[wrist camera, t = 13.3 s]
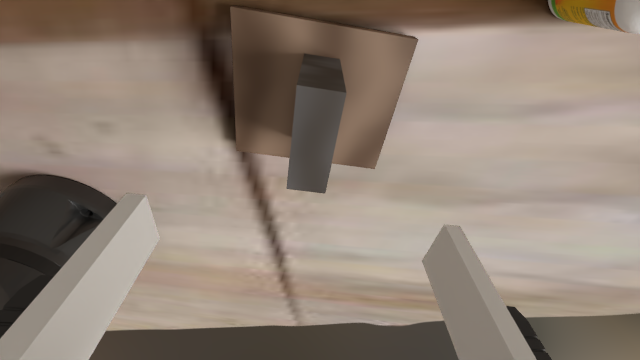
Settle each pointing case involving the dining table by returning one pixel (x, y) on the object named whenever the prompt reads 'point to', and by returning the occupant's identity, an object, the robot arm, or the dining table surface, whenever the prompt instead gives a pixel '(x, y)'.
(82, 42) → the dining table surface
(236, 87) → the walnut lid
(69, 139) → the dining table surface
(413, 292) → the dining table surface
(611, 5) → the supplement bottle
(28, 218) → the robot arm
